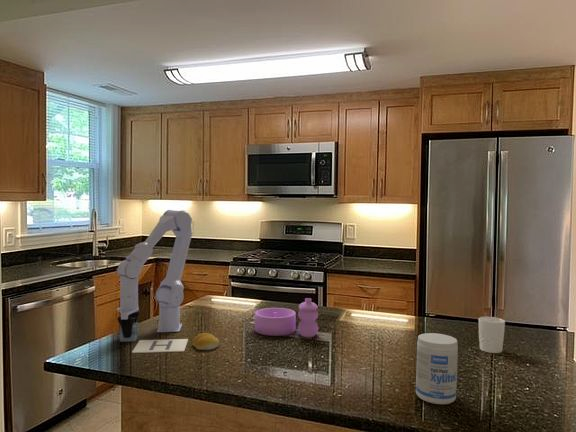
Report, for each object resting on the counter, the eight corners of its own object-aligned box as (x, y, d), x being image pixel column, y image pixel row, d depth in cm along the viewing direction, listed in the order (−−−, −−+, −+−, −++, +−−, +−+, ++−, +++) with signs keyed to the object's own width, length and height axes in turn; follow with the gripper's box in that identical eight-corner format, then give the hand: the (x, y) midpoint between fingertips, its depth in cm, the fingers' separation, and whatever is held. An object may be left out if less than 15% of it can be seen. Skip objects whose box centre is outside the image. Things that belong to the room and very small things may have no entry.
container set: (246, 331, 164) (246, 295, 163) (268, 322, 177) (268, 289, 176) (307, 342, 151) (308, 304, 151) (326, 331, 165) (326, 296, 164)
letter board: (139, 341, 151) (139, 340, 151) (188, 339, 153) (188, 338, 153) (131, 353, 139) (131, 352, 139) (184, 351, 141) (184, 350, 141)
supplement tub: (434, 408, 104) (435, 346, 103) (407, 392, 112) (408, 334, 112) (465, 401, 108) (466, 341, 107) (437, 386, 116) (438, 330, 116)
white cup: (483, 344, 152) (484, 315, 151) (507, 350, 146) (508, 319, 146) (473, 349, 146) (474, 319, 146) (498, 355, 140) (499, 324, 140)
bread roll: (198, 352, 141) (198, 340, 141) (190, 344, 149) (190, 332, 149) (223, 348, 145) (223, 336, 145) (213, 340, 153) (213, 329, 153)
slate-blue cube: (123, 337, 155) (123, 322, 155) (138, 336, 156) (138, 322, 155) (119, 341, 150) (119, 326, 150) (135, 341, 151) (135, 326, 150)
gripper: (122, 291, 159) (122, 329, 160) (111, 300, 145) (111, 341, 145) (142, 291, 160) (142, 328, 160) (133, 300, 146) (133, 341, 146)
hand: (129, 335), depth 153 cm, fingers closed on slate-blue cube, 5 cm apart
